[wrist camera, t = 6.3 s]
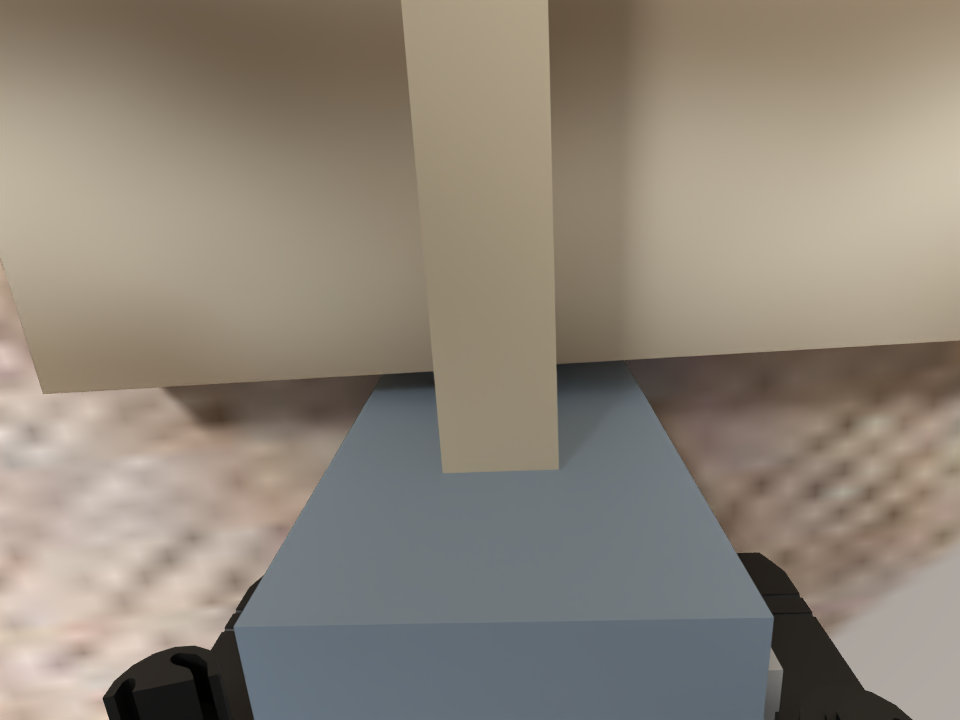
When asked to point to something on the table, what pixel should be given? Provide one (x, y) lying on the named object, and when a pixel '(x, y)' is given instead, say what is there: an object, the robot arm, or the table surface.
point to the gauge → (501, 469)
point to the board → (394, 194)
